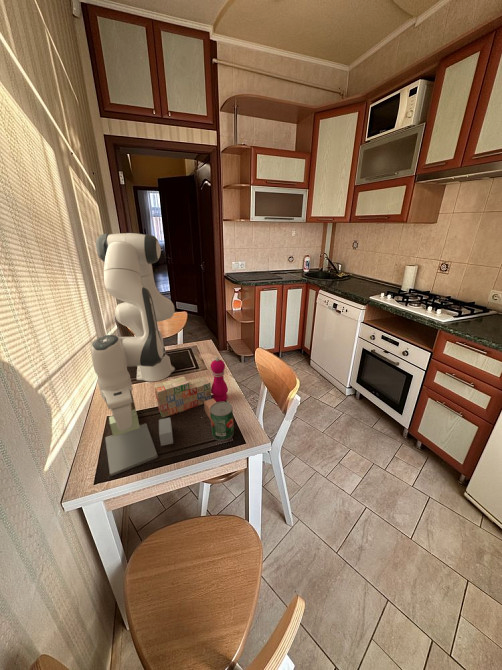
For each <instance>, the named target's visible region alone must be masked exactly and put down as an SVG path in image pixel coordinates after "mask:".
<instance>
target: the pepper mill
mask: <svg viewBox="0 0 502 670" xmlns="http://www.w3.org/2000/svg"><path fill="white" fill-rule="evenodd" d="M225 369H226V364H225V362H224V361H223V360H222V359H220V357H218V356H216V357H215V359H214V360H212V362H211V363H210V370H211V371H212V372H211V373H212V376H213V382H212V384H211V393H212V399H214V400H215V401H216V402H222V401H223V402H226V401H227V400H228V392H229V387H228V385H227V383H226V381H225V380H224V375H225Z"/></svg>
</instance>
